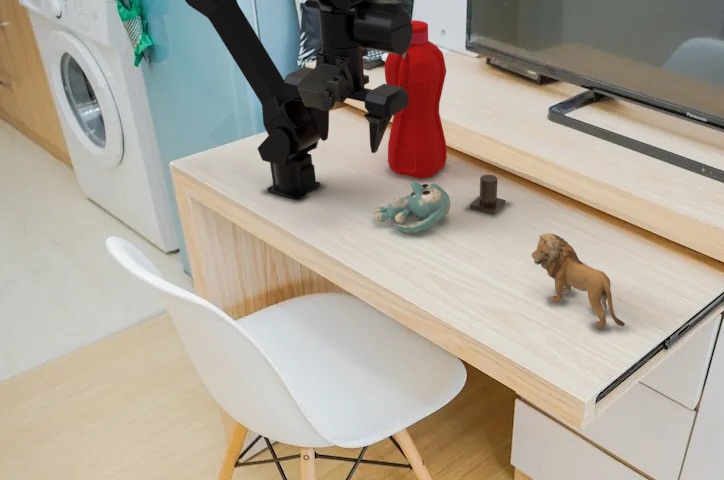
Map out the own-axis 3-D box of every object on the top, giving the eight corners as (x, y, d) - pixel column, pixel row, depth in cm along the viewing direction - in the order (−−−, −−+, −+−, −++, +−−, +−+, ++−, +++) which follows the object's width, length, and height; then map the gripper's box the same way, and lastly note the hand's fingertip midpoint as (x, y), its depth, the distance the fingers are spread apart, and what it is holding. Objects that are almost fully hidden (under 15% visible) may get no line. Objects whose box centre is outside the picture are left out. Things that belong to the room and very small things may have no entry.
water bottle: (377, 177, 136) (368, 28, 122) (406, 154, 145) (401, 11, 130) (425, 188, 134) (422, 36, 119) (452, 163, 142) (452, 19, 127)
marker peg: (469, 208, 128) (470, 180, 125) (481, 198, 131) (482, 170, 128) (494, 215, 127) (495, 186, 124) (505, 204, 130) (507, 176, 127)
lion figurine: (522, 294, 108) (526, 237, 103) (545, 279, 111) (550, 222, 106) (613, 337, 101) (622, 278, 95) (635, 320, 104) (645, 261, 99)
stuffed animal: (365, 177, 124) (439, 160, 125) (376, 216, 128) (448, 199, 129) (370, 208, 116) (449, 190, 116) (381, 249, 120) (458, 231, 121)
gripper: (252, 46, 110) (267, 151, 119) (365, 69, 104) (371, 179, 113) (301, 27, 118) (311, 127, 127) (409, 48, 112) (411, 151, 121)
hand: (349, 146), depth 122 cm, fingers open, 9 cm apart
